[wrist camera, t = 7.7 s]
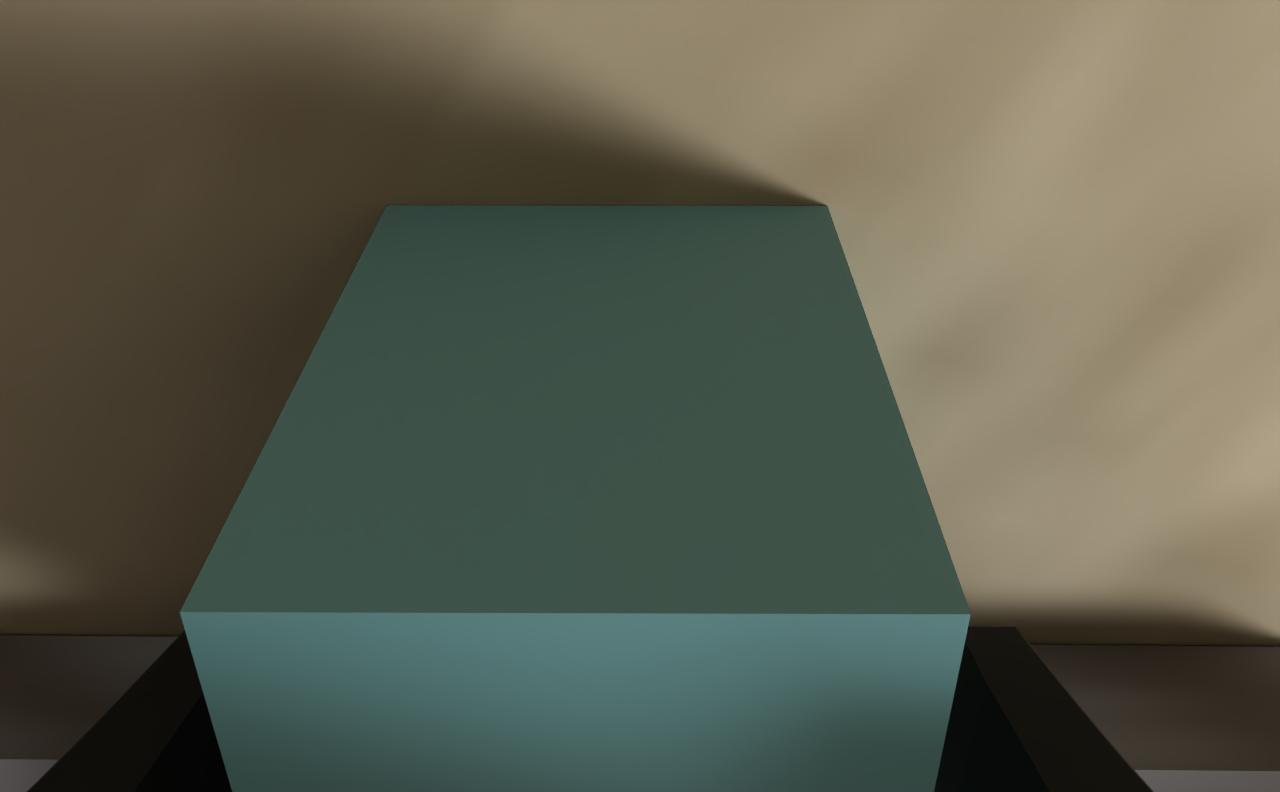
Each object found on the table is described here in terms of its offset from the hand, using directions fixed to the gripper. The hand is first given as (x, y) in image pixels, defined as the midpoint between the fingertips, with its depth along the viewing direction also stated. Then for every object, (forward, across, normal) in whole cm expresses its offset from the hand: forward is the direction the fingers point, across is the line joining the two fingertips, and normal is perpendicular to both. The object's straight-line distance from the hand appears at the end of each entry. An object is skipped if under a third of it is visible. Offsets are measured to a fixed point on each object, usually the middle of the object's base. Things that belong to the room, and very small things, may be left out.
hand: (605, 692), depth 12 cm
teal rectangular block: (+2, 0, 0) cm, 2 cm away
